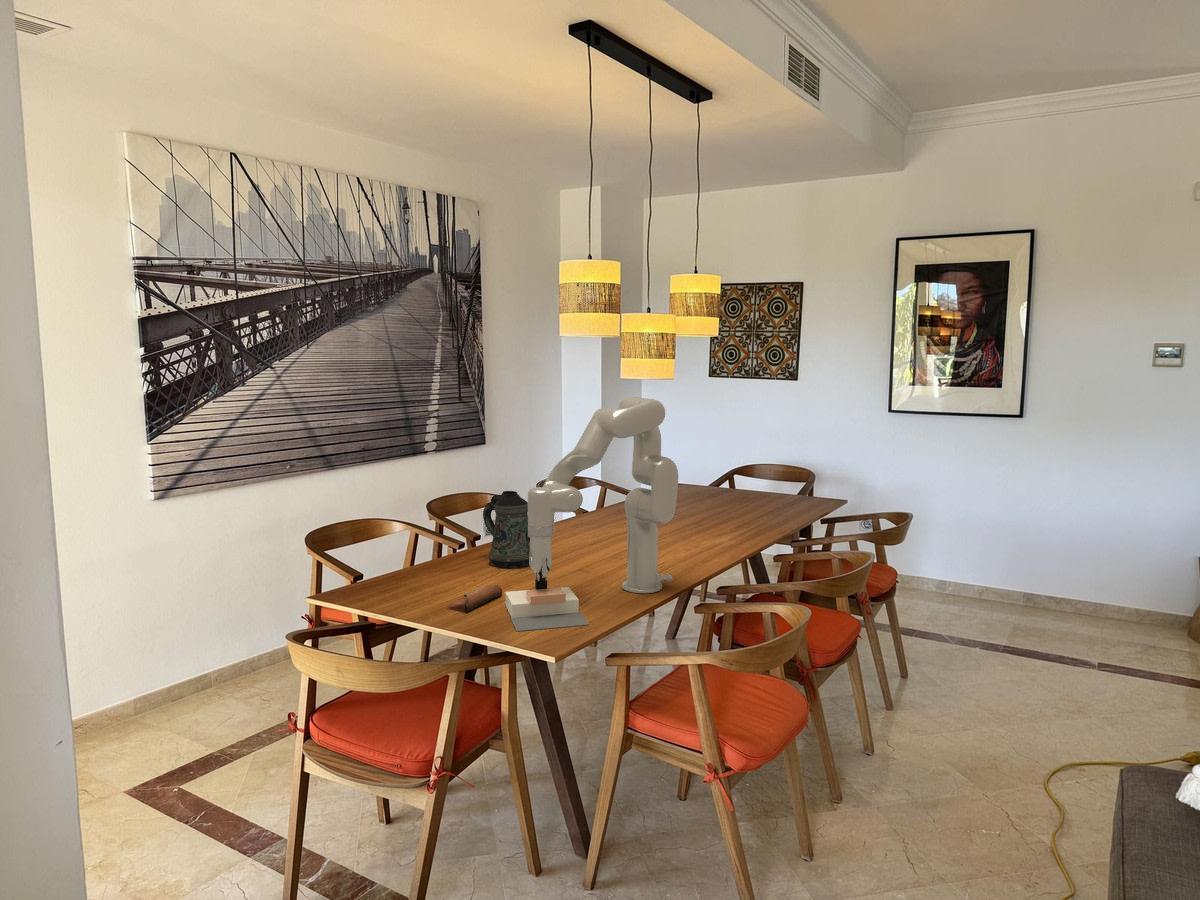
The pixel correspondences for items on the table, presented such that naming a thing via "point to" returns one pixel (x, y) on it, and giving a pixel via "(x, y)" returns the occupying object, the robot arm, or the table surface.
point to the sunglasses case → (475, 598)
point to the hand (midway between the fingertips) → (541, 593)
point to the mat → (549, 621)
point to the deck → (522, 608)
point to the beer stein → (508, 531)
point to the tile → (545, 596)
